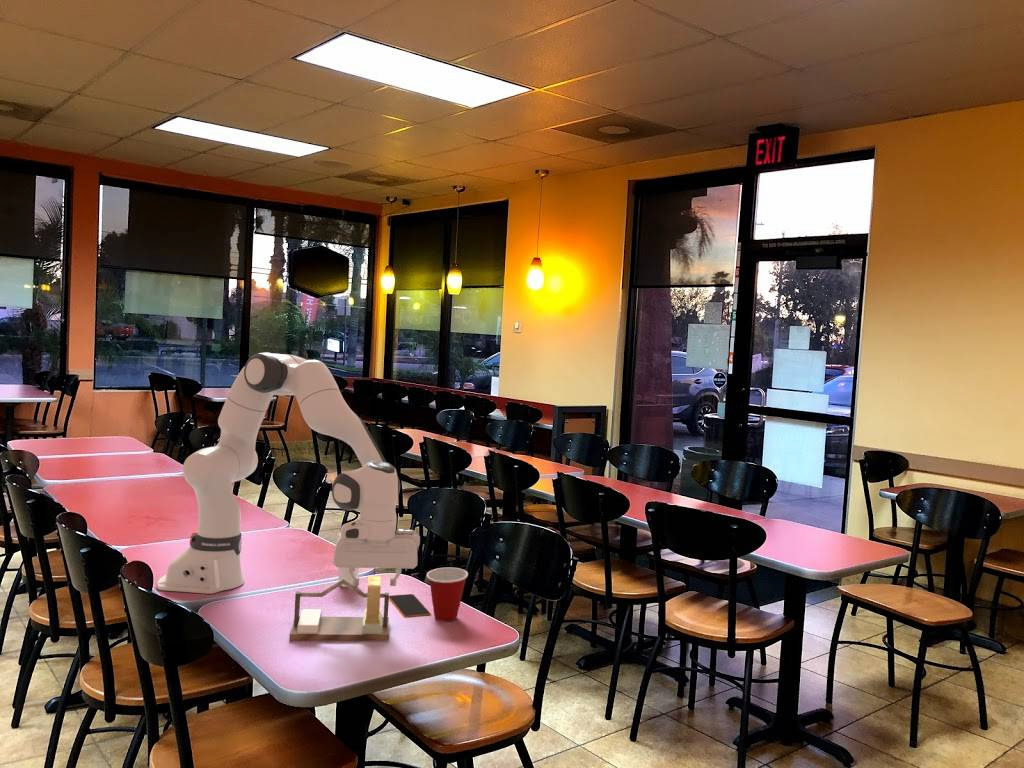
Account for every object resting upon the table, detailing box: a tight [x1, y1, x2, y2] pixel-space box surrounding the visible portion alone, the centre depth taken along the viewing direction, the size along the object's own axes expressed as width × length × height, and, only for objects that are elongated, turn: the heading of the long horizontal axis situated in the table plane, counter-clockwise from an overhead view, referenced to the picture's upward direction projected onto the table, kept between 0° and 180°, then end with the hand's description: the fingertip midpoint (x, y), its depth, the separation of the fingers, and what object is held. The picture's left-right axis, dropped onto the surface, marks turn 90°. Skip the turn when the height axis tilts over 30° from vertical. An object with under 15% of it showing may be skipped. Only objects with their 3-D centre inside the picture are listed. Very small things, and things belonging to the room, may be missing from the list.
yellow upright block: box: [365, 575, 382, 624], centre depth 199 cm, size 4×9×9 cm, turn 9°
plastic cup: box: [426, 566, 469, 622], centre depth 212 cm, size 11×11×12 cm
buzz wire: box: [288, 579, 390, 642], centre depth 198 cm, size 23×12×13 cm, turn 99°
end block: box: [362, 609, 383, 634], centre depth 199 cm, size 5×11×2 cm, turn 9°
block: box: [297, 608, 322, 634], centre depth 197 cm, size 5×11×2 cm, turn 9°
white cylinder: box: [337, 532, 360, 588], centre depth 233 cm, size 7×7×15 cm
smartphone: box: [389, 593, 432, 618], centre depth 220 cm, size 8×17×1 cm, turn 24°
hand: (374, 585), depth 199 cm, fingers open, 8 cm apart
